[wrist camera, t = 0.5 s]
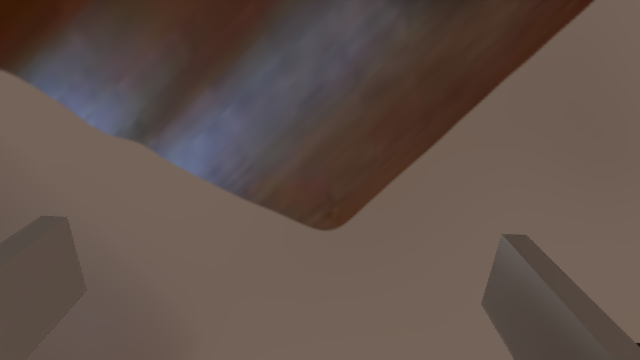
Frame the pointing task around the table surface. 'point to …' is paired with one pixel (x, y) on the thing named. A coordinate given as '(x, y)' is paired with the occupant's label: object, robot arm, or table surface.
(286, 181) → the table surface
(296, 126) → the table surface
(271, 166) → the table surface
